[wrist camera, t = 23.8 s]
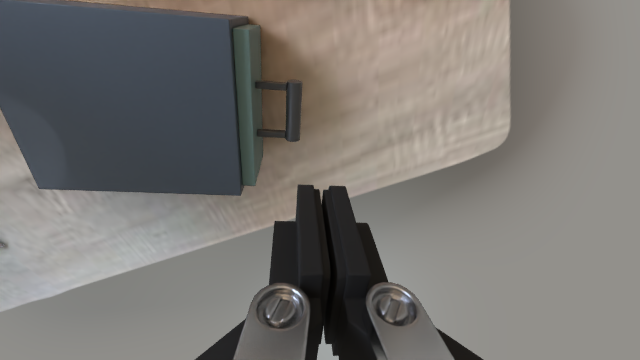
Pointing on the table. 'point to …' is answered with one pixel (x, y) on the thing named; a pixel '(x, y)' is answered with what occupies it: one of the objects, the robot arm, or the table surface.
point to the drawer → (258, 101)
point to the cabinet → (121, 96)
